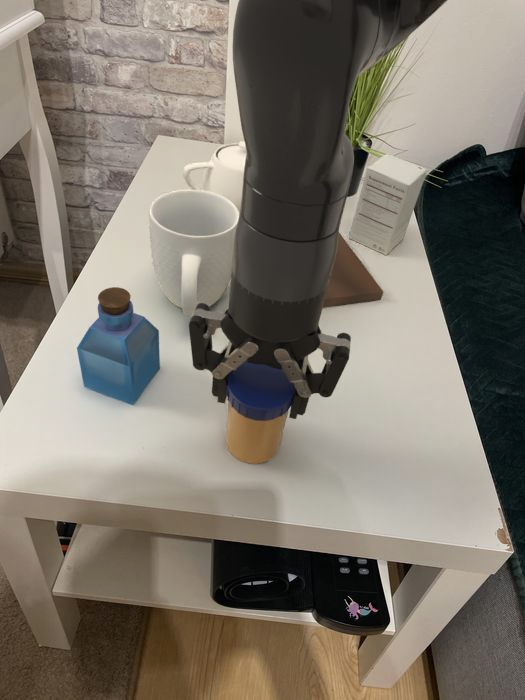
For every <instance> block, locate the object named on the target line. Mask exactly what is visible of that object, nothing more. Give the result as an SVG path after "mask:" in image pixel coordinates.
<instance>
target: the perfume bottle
mask: <svg viewBox="0 0 525 700" xmlns="http://www.w3.org/2000/svg"><path fill="white" fill-rule="evenodd" d="M131 297H132V295H131V293H130V292H129V291H128V290H127V289H125V288H123V287H119V286H113V287H108V288H105V289H103V290H101V291H100V292H99V293H98V296H97V300H98V304H97V315H98V317H97V319H96V320H95V321H94V322H93V323H92V324H91V325H90V326H89V327H88V329H87V330H86V332H85V334H84V335H83V337H82V339H81V340H80V342H79V344H78V345H77V347H76V351H77V357H78V361H79V366H80V367H79V368H80V372H81V377H82V382H83V383H82V384H83V387H84V388H86V389H89V390H92V391H94V392H96V393H99V394H102V395H104V396H107V397H110V398H113V399H115V400H118V401H121V402H123V403H125V404H129V405H131V406H134V405H135V404H136V403H137V401H138V400H139V398H140V397H141V395H142V394H143V393H144V391H145V390H146V389H147V387H148V386H149V384H150V383H151V382H152V380H153V379H154V378H155V376H156V374H158V372H159V370H160V369H161V362H160V361H161V360H160V331H159V329H158V328H157V327H156V326H155V325H154V324H152V323H151V322H150V321H149V320H148V319H147V318H146V317H145V316H143V315H141V314H138V313H135V312H134V305H133V302H132V301H131Z"/></svg>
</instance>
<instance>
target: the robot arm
mask: <svg viewBox="0 0 525 700" xmlns="http://www.w3.org/2000/svg"><path fill="white" fill-rule="evenodd" d="M447 2H448V0H238V3H237V6H236V10H235V15H234V20H233V21H234V22H233V30H232V63H233V64H232V66H233V67H232V68H233V75H234V83H235V90H236V99H237V105H238V112H239V119H240V127H241V132H242V136H243V141H245V146H246V159H245V166H244V175H243V186H242V197H241V209H240V215H239V219H238V223H237V227H236V231H235V238H234V248H233V259H232V271H231V278H230V282H229V283H230V285H229V294H228V295H229V296H228V298H229V299H228V308H227V309H226V310H225V311H224V312H218V311H213V310H212V311H211V308H210V306H208V305H207V304H205V303H199V304H198V305H197V306H196V309H195V311H194V313H193V316H192V317H190V321H189V322H188V330H189V340H190V351H191V358H192V359H191V360H192V367H193V368H194V369H195V370H197V371H204V370H207V371H209V372H210V373H211V375H212V382H211V383H212V384H211V394H212V396H213V397H215V398H217V403H219V404H226V400H227V399H228V398H227V393H226V384H227V378H228V374H229V373H230V372H231V371H232V370H234V371H235V370H236V369H237V368H238V367H239V366H240V365H241V364H242V363H244V362H245V361H246V360H247V363H252V364H264V365H267V366H269V367H272V368H275V369H280V370H282V368H283V370H284V372H285V374H286V376H287V378H288V380H289V382H290V383H293V384H294V386H295V388H296V390H295V394H294V399H293V403H292V405H291V407H290V409H289V414H288V415H289V416H288V418H289V419H293V420H297V417H298V416H303V415H304V414H306V410H307V407H308V403H309V399H310V397H311V396H312V395H315V394H318V395H319V396H320V397H322V398H330V397H331V396H332V395H333V393H334V391H335V389H336V388H337V385H338V383H339V381H340V379H341V376H342V374H343V372H344V370H345V368H346V366H347V364H348V362H349V360H350V352H351V344H352V343H351V341H352V336H351V335H350V334H349V333H346V332H340V333H338V334H337V335H336V336H333V335H328V334H326V333H323V332H322V330H321V327H320V325H319V324H320V320H321V315H322V313H323V308H324V307H323V305H324V301H325V297H326V293H327V289H328V285H329V281H330V277H331V273H332V270H333V268H334V263H335V257H336V252H337V246H338V235H339V233H340V227H341V223H342V219H343V215H344V212H345V211H344V210H345V206H346V203H347V198H348V196H349V195H348V194H349V189H350V186H351V183H352V177H353V171H354V162H355V154H354V146H353V145H352V142H351V140H350V138H349V137H348V136H347V134H346V126H347V120H348V113H349V108H350V102H351V98H352V94H353V92H354V87H355V84H356V81H357V78H358V77H359V76H361V75H363V74H365V73H366V72H367V71H368V70H370V69H371V68H372V67H374V66H375V65H376V64H378V63H379V62H380V61H381V60H383V59H384V58H385V57H387V55H389V54H390V53H391V52H392V51H393V50H395V49H396V48H397V47H398V46H399V45H401V44H402V42H404V41H405V40H406V39H407V38H408V37H410V35H412V34H413V33H414V32H415V31H416V30H417V29H418V28H419V27H421V26H422V25H423V24H424V23H425V22H426V21H427V20H428V19H429V18H430V17H432V16H433V15H434V14H435V13H436V12H437V11H438V10H439V9H440V8H441V7H442V6H443V5H444V4H446V3H447ZM217 329H221V331H222V333H223V334H224V336H225V337H226V339H227V340H228V341H229V342H228V343H227V344H226V346H224V348H223V349H222V350H220V351H219V352H217V351H215V350H214V349H213V336H214V335H215V333H216V330H217ZM317 350H320V351H321V352H322V358H323V360H325V363H324V366H323V368H322V370H321V372H314V370H313V368H312V366H311V364H310V361H309V355H311V354H313V353H314V352H316V351H317Z"/></svg>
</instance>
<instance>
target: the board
mask: <svg viewBox="0 0 525 700" xmlns="http://www.w3.org/2000/svg"><path fill="white" fill-rule="evenodd" d="M383 296H384V290H383V289H382V288H381V286H380V285H379V284H378V282H377V281H376V279H375V278H374V277H373V276H372V274H371V273H370V271H369V270H368V269H367V267H366V266H365V265H364V264H363V262H362V261H361V259H360V258H359V257H358V255H357V254H356V253H355V251H354V250H353V249H352V248H351V246H350V245H349V244H348V242H347V241H346V240H345V238H344V237H343V236H342V234H341V233H340V232H339V235H338V246H337V252H336V257H335V263H334V268H333V270H332V273H331V277H330V281H329V285H328V289H327V293H326V297H325V301H324V305H323V308H329V307H336V306H343V305H352V304H358V303H365V302H373V301H380V300H382V298H383Z"/></svg>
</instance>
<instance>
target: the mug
mask: <svg viewBox="0 0 525 700" xmlns="http://www.w3.org/2000/svg"><path fill="white" fill-rule="evenodd" d="M148 218H149V220H148V221H149V227H148V228H149V241H150V251H151V259H152V266H153V270H154V273H155V275H156V276H155V277H156V279H157V282H158V284H159V286H160V288H161V291H162V293H163V294H164V295H165V296H166V298H167V299H168V300H169V301H170V302H171V303H172V304H173V305H175V306H177V308H181V309H182V313H183V315H184V316H186V317H188V318H189V317H190V318H192V316H193V313H194V311H195V309H196V306H197V305H198V304H199V303H205V304H207V305H208V306H209V307H211V306H212V305H214V304H215V303H216V302H217V301H218V300H219V299H220V298H221V297H222V296H223V294H224V292H225V291H226V290H227V287H228V286H229V283H230V281H231V271H232V259H233V248H234V238H235V231H236V227H237V223H238V219H239V211H238V209H237V207H236V206H235V205H234V204H233V203H232V202H231V201H230V200H228V199H227V198H225V197H223V196H221V195H219V194H216V193H213V192H209V191H204V190H193V189H192V188H190V189H177V190H173V191H169V192H168V191H167V192H166V193H163V194H161V195H159V196H158V197H156V198H155V199H154V200H153V201H152V202H151V203H150V206H149V211H148Z"/></svg>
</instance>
